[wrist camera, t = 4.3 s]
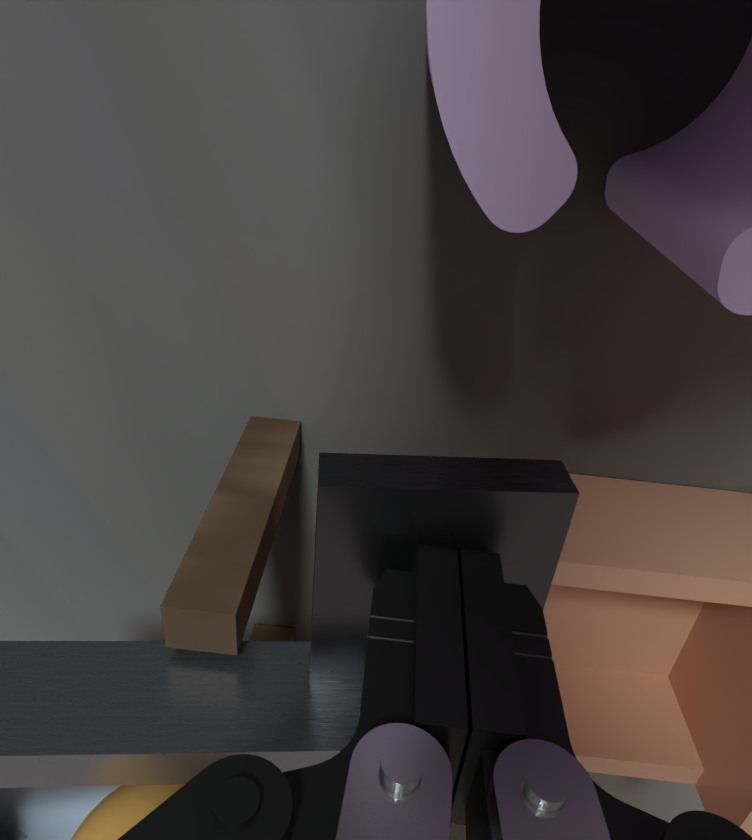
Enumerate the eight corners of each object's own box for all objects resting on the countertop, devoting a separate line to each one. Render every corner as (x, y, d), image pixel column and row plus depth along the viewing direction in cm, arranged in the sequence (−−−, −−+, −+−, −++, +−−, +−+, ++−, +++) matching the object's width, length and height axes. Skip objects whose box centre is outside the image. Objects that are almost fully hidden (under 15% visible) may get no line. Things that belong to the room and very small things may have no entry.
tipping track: (-12, 825, 17) (-73, 968, 14) (-180, 436, 10) (-345, 565, 8) (461, 812, 18) (483, 941, 15) (561, 460, 12) (626, 577, 9)
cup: (420, 649, 24) (419, 818, 18) (454, 460, 19) (465, 611, 14) (677, 679, 23) (748, 856, 18) (770, 495, 19) (898, 660, 14)
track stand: (255, 645, 24) (193, 863, 18) (251, 416, 19) (160, 605, 12) (294, 649, 24) (246, 869, 18) (300, 422, 19) (235, 614, 12)
